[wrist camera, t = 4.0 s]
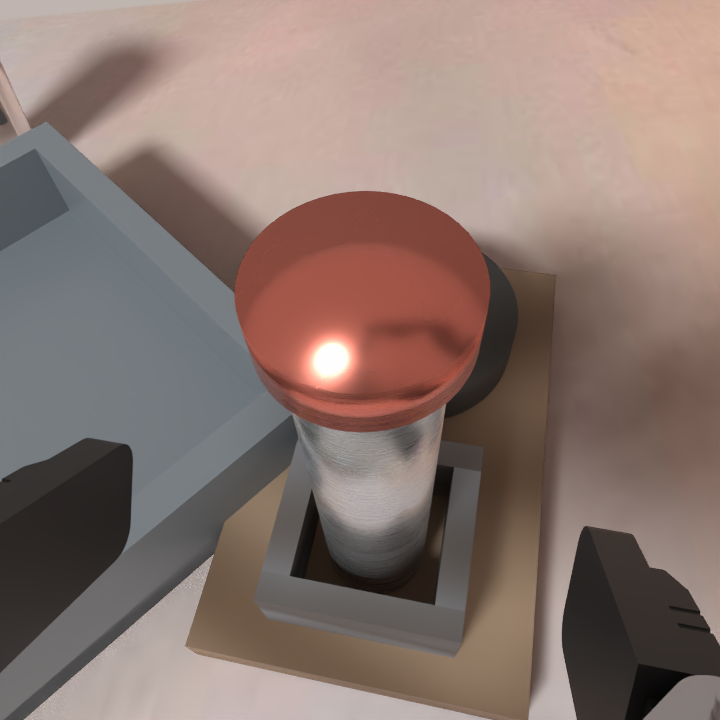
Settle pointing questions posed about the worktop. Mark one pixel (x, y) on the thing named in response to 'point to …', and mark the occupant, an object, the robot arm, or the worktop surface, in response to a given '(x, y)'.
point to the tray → (121, 388)
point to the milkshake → (10, 111)
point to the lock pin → (366, 361)
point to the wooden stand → (441, 553)
